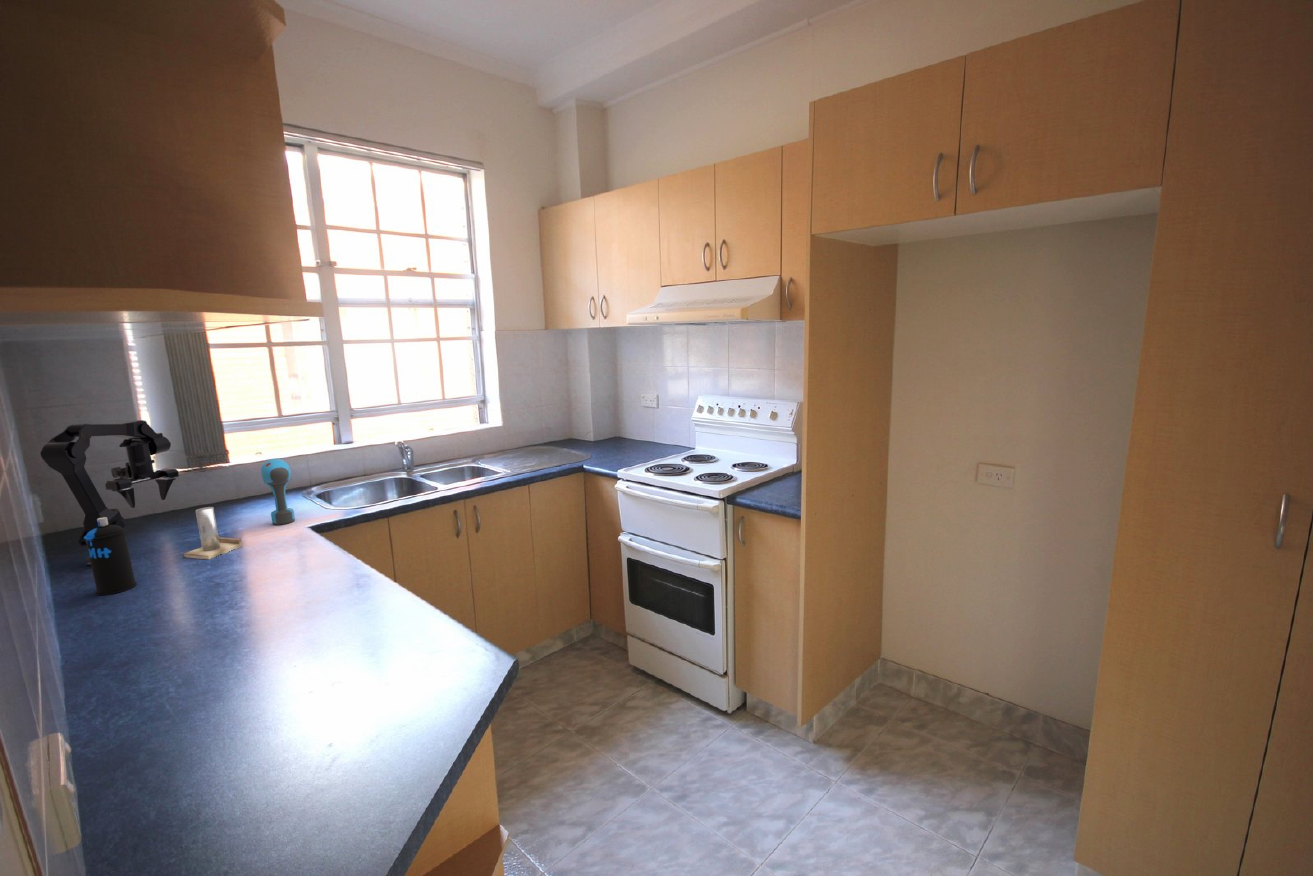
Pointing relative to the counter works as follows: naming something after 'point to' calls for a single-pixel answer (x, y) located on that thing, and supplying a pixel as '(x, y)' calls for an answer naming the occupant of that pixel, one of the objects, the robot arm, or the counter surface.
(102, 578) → the aerosol can
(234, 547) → the wooden tray
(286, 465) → the power drill
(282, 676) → the counter surface
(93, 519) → the robot arm
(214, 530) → the rod
